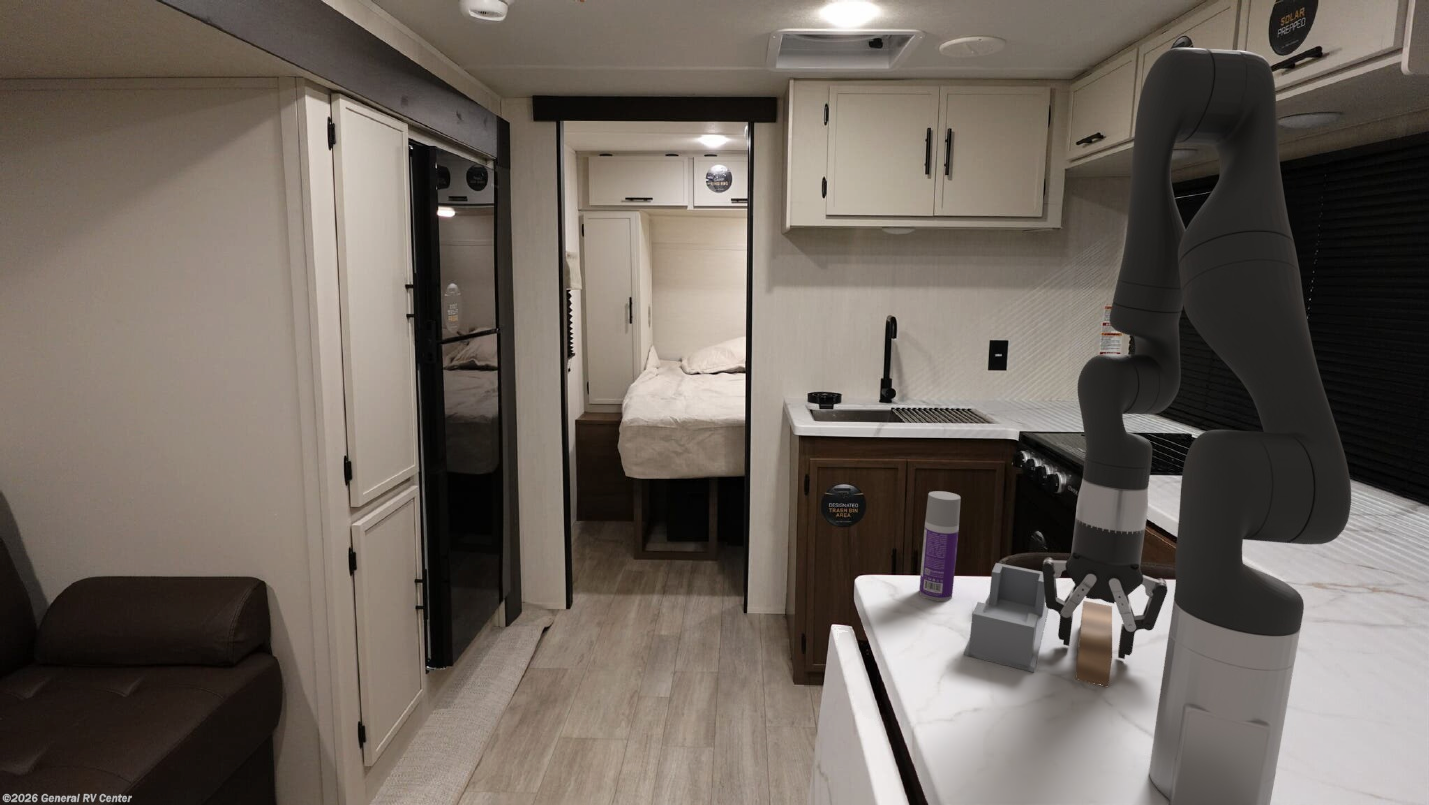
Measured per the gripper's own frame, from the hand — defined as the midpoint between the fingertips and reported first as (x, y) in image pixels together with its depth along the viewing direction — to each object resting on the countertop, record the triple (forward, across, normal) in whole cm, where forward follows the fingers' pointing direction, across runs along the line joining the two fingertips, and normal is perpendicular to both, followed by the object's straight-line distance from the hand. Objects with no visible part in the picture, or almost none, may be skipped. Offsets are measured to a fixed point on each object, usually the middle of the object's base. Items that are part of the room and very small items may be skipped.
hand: (1093, 649), depth 95 cm
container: (+1, -21, +8) cm, 22 cm away
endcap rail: (+1, -10, +1) cm, 10 cm away
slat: (+1, 0, 0) cm, 1 cm away
